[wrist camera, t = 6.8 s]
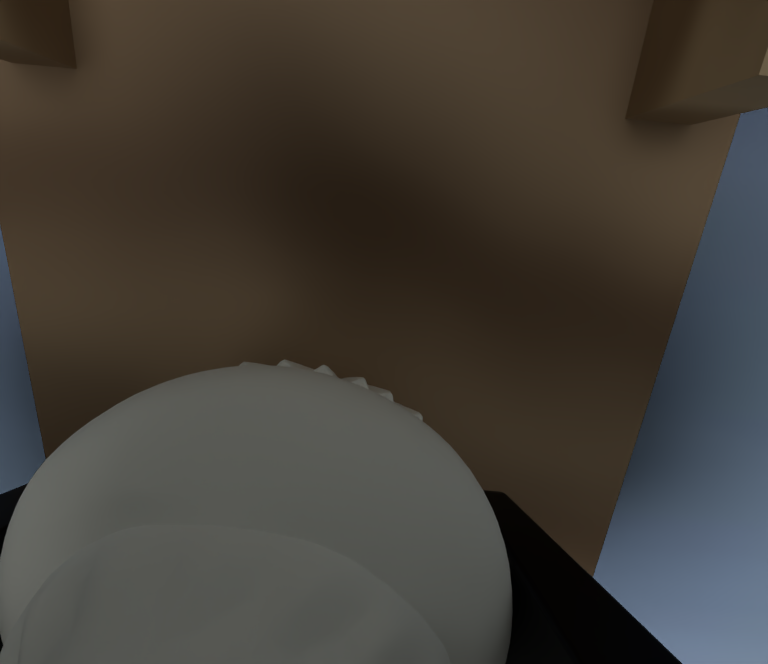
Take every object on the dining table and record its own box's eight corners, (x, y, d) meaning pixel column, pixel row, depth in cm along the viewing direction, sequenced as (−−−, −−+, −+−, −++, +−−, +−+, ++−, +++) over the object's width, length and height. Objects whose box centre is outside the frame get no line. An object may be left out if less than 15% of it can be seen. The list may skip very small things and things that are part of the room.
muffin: (528, 390, 8) (1083, 1228, 2) (379, 595, 10) (343, 1396, 3) (235, 234, 7) (-1116, 580, 1) (129, 486, 9) (-563, 1245, 3)
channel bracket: (580, 551, 12) (660, 711, 8) (80, 502, 12) (-60, 639, 8) (817, -239, 7) (1305, -742, 3) (-59, -314, 7) (-582, -890, 3)
